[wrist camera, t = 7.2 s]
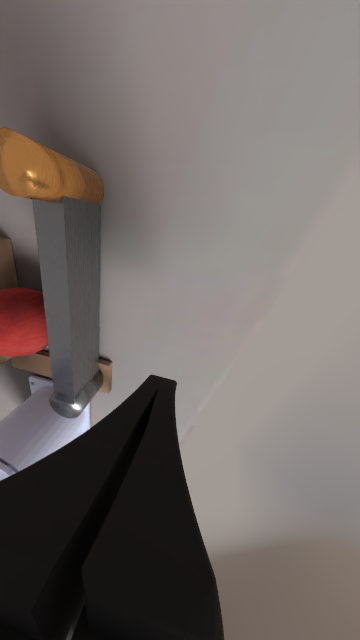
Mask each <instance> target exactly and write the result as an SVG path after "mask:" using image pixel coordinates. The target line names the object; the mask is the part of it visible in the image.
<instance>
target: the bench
mask: <svg viewBox="0 0 360 640" xmlns="http://www.w3.org/2000/svg"><path fill="white" fill-rule="evenodd" d="M9 288H19V286H18V280H17V274H16V268H15V262H14V256H13V251H12V245H11V239H8V238H3V237H0V290H2V289H9ZM10 358H11V362H12V367H15V368H18V369H22V370H26V371H29V372H33V373H36V374H40V375H43V376H47V377H51V378H52V371H51V362H50V353H49V352H45V351H38V352H36V353H34V354H29V355H23V356H14V357H9V356H2V355H0V364H2V363H4V362H5V361H7V360H9V359H10ZM98 372H99V373H100V374H101V375H102V377H103V385H102V387H101V388H100V389H99V391H101V392H104V393H109V392H110V390H111V381H112V362H109V361H106V360H102V359H99V366H98Z"/></svg>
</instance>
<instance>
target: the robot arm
mask: <svg viewBox="0 0 360 640" xmlns="http://www.w3.org/2000/svg"><path fill="white" fill-rule="evenodd" d="M29 383H30V389H31V394H32V395H31V396H30V397H29V398H28V399H26V400H25V401H24V402H23V403H22V404H21V405H19V406H18V407H17V408H16V409H15V410H14V411H12V412H11V413H10V414H9V415H8V416H7V417H5V418H4V419H3V420H2V421H1V422H0V640H224V633H223V624H222V615H221V608H220V602H219V596H218V590H217V585H216V579H215V575H214V572H213V569H212V566H211V563H210V560H209V557H208V554H207V551H206V548H205V545H204V542H203V539H202V536H201V533H200V530H199V526H198V523H197V520H196V516H195V513H194V509H193V505H192V502H191V498H190V494H189V490H188V486H187V483H186V479H185V474H184V470H183V465H182V460H181V455H180V449H179V443H178V436H177V428H176V417H175V390H176V385H177V383H176V381H174V380H170V379H167V378H163V377H159V376H155V375H150V376H149V377H148V378H147V379H146V380H145V381H144V382H143V384H142V385H141V386H140V387H139V388H138V389H137V390H136V391H135V392H134V393H133V394H131V395H130V396H129V397H128V398H127V399H126V400H125V401H124V402H123V403H122V404H121V405H119V406H118V407H117V408H116V409H115V410H113V411H112V412H111V413H110V414H109V415H107V416H106V417H105V418H103V419H102V420H101V421H100V422H98V423H97V424H96V425H94V426H93V427H91V428H90V402H89V404H88V405H87V406H86V407H85V409H84V410H83V411H82V413H81V414H80V415H79V416H78V417H77V418H74V419H69V418H65V417H62V416H61V415H59V414H57V413H56V412H55V411H54V410H53V409H52V407H51V405H50V403H49V397H50V395H51V394H52V393H53V392H54V390H53V381H52V380H49V379H45V378H42V377H38V376H35V375H31V376H30V377H29Z"/></svg>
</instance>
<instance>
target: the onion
mask: <svg viewBox="0 0 360 640" xmlns="http://www.w3.org/2000/svg"><path fill="white" fill-rule="evenodd" d="M48 345H49V344H48V335H47V326H46V317H45V308H44V299H43V293H42V292H39V291H37V290H34V289H29V288H25V287H21V288H9V289H2V290H0V355H2V356H9V357H14V356H23V355H29V354H34V353H36V352H38V351H41V350H42V349H44V348H45V347H47V346H48Z"/></svg>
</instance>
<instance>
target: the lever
mask: <svg viewBox="0 0 360 640" xmlns="http://www.w3.org/2000/svg"><path fill="white" fill-rule="evenodd" d="M0 187H1V188H2V189H3V190H4V191H5V192H7V193H9V194H11V195H14V196H19V197H24V198H30V199H33V208H34V217H35V226H36V235H37V244H38V253H39V262H40V271H41V280H42V289H43V299H44V308H45V317H46V326H47V335H48V344H49V353H50V362H51V371H52V380H53V390H54V392H53V393H52V394H51V395H50V397H49V403H50V405H51V407H52V409H53V410H54V411H55V412H56V413H57V414H59V415H61V416H62V417H65V418H69V419H74V418H77V417H78V416H79V415H80V414H81V413H82V411H83V410H84V409H85V407H86V406H87V405H88V404H89V402H90V401H91V400H92V398H93V397H94V396H95V395H96V393H97V392H98V391H99V389H100V388H101V387H102V385H103V377H102V375H101V374H100V373H99V372H98V366H99V288H100V210H101V202H102V200H103V196H104V188H103V183H102V181H101V179H100V177H99V176H98V174H97V173H96V172H95V171H94V170H92V169H90V168H88V167H86V166H84V165H82V164H80V163H78V162H76V161H74V160H72V159H70V158H68V157H66V156H64V155H62V154H60V153H58V152H56V151H54V150H51V149H49V148H47V147H45V146H43V145H41V144H39V143H37V142H35V141H33V140H31V139H29V138H27V137H25V136H23V135H21V134H19V133H17V132H15V131H13V130H11V129H8V128H0Z"/></svg>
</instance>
